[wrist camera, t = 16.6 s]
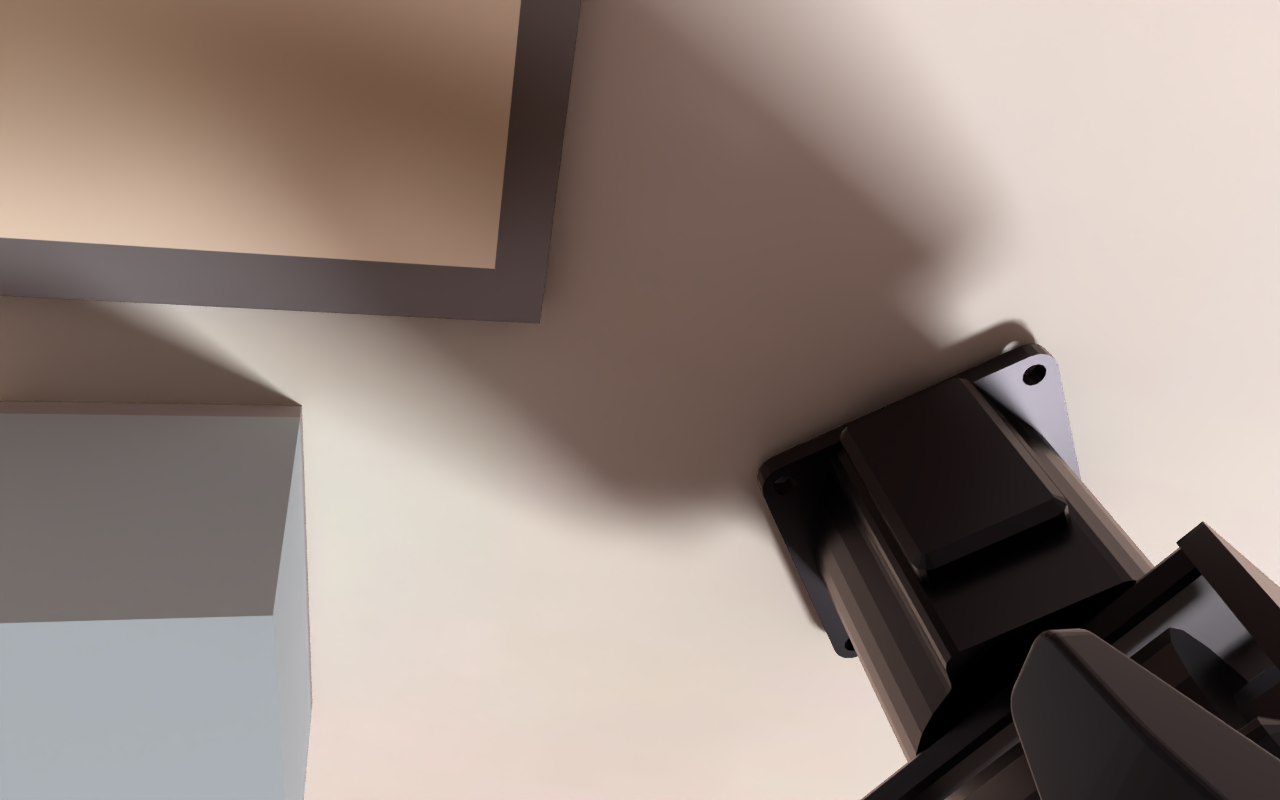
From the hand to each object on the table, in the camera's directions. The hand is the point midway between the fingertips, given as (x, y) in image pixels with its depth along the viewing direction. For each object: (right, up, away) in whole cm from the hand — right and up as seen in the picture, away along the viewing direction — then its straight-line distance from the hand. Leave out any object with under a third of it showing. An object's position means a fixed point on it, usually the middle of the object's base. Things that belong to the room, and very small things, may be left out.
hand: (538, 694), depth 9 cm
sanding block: (-8, -1, +12) cm, 15 cm away
